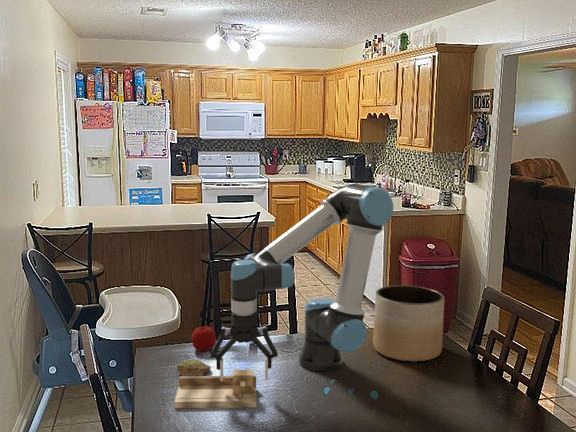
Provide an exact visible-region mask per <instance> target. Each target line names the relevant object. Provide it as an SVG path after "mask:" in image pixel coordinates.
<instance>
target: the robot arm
mask: <svg viewBox="0 0 576 432" xmlns="http://www.w3.org/2000/svg"><path fill="white" fill-rule="evenodd" d="M393 213H394V202H393V199H392V197H391V196H390V194H389V193H388V192H387V190H385V189H383V188H379V187H377V186H371V185H366V184H365V185H364V184H360V183H350V184H346V185H344V186H342V187H340V188H338V189H337V190H335V191H334V192H332V193H331V194H329V195H328V196H327V197H325V198H323V200H321V201H320V206H318V207H317V208H315V209H314V210H313V211H312V212H310V213H309V214H308V215H307V216H305V217H304V218H303V219H301V220H300V221H299V222H297V223H296V224H295V225H293V226H292V227H291V228H289V229H288V230H287V231H286V232H284V233H283V234H281V235H280V236H279V237H278V238H276V239H275V240H274V241H272V242H271V243H270V244H269V245H267V246H266V247H264V248H263V249H262V250H261V251H259V252H258V253H250V254H247V255H246V256H245V257H244V259H239V260H236V261H234V262H233V263H232V264H231V269H230V282H231V283H230V285H231V286H230V288H231V290H230V291H231V294H230V295H231V297H230V298H231V299H230V300H231V301H230V303H231V305H230V306H231V307H230V308H231V312H232V313H231V327H226V326H224V325H222V326H221V330H220V334H219V335H218V338H217V339H216V343H215V345H214V347H213V348H212V349H211V352H210V354H209V355H210V357H209V358H210V359H215V361H216V365H215V366H216V370H217V371H218V370H219V376H220V381H223V376H224V356H225V354H226V353H227V352H228V351H229V350H230V349H231V347H233V345H235V344H236V343H237V342H238V343H240V344H241V343H251V342H252V343H253V344H254V345H255V346H256V347H257V349H259V350H260V351H261V353H262V354H264V356H265V357H264V358H265V359H264V379H265V381H268V380H269V379H268V378H269V369H272V361H273V360H272V359H274V358H277V357H278V351H277V349H276V347H275V344H274V343H273V341H272V339H271V337H270V335H269V333H268V327H267V326H266V325H263V326H261V327H258V326H257V323H258V322H257V304H258V303H257V302H258V301H257V299H258V298H257V296H258V295H257V294H258V292H265V291H273V290H283V289H287V288H291V287H292V286H293V285H294V283H295V271H294V268H293V266H292V265H291V264H290V263H285V262H286V261H287V260H289V259H290V258H291V257H292V256H294V255H295V254H296V253H298V252H299V251H300V250H302V249H303V248H304V247H305V246H307V245H308V244H310V243H311V242H312V241H314V240H315V239H316V238H317V237H318V236H320V235H321V234H322V233H324V232H325V231H327V230H328V229H329V228H330V227H331V226H333V225H334V224H335V225H339V224H340V223H342V222H343V221H346V225H347V227H348V229H349V233H348V238H347V243H346V247H345V253H344V257H343V263H342V266H341V270H340V271H341V272H340V277H339V281H338V286H337V290H336V291H337V292H336V295H335V298H329V297H328V298H326V297H325V298H323V297H321V298H313V299H309V300H308V301H306V303H305V308H304V342H303V344H302V348H301V350H300V352H299V356H298V358H299V359H298V362H299V365H300V366H301V367H302V368H304V369H306V370H310V371H313V372H314V371H315V372H332V371H335V370H338V369H340V368H341V367H342V364H343V356H342V353H348V354H349V353H353V352H355V351H357V350H358V348H361V347H362V346H363V345H364V343H365V342H366V339H367V337H368V327H366V324H365V322H364V316H365V311H364V310H363V308H362V303H363V299H364V294H365V289H366V284H367V279H368V275H369V270H370V265H371V261H372V256H373V251H374V246H375V242H376V237H377V235H378V234H380V233H382V231H383V227H384V225H385V224H387V223H388V221H390V220H391V218H392V216H393ZM258 333H259V334H260V335H262V336H263V339H264V340H265V342H266V344H267V345H268V348H269V349H270V350H269V349H268V348H267V347H266V346H265V345H264V343H262V341H261V340H260V339H259V338H258V337H257V334H258ZM229 334H231V337H230V339H229V340H228V341H227V343H225V344H224V346H223V347H222V348H221V349H220V347H221V345H222V343H223V341H224V340H225V337H226V336H227V335H229ZM219 349H220V350H219Z"/></svg>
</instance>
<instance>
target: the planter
mask: <svg viewBox="0 0 576 432" xmlns="http://www.w3.org/2000/svg"><path fill="white" fill-rule="evenodd" d="M374 299H375V300H374V301H375V303H374V319H373V334H372V347H374V349H375V350H376V351H377V352H378V353H379V354H381V355H383V356H384V357H386V358H388V357H389V358H388V359H391V358H392V359H391V360H394V359H396V361H399V360H400V361H399V362H406V361H411V362H410V363H418V362H417V361H423V362H427V361H426V360H428V361H431V360H433V359H436V358H437V357H439V356H440V355H441V353H442V350H443V349H442V348H443V335H444V334H443V333H444V331H443V330H444V313H445V312H444V311H445V296H444V295H443V294H442V293H441V292H439V291H437V290H435V289H431V288H429V287H425V286H424V287H423V286H416V285H409V284H408V285H406V284H400V285H399V284H398V285H397V284H395V285H387V286H382V287H380V288H378V289H377V290H376V291H375V298H374ZM430 359H431V360H430Z"/></svg>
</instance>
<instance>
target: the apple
mask: <svg viewBox="0 0 576 432" xmlns="http://www.w3.org/2000/svg"><path fill="white" fill-rule="evenodd" d="M216 342H217V336H216V331H215V330H214V329H213V328H212V327H210V326H203V325H202V324H200V326H199V327H197V328H195V330H194V331H193V332H192V334H191V344H192V346H193V347H194V349H195V350H196V351H198V352H200V353H203V352H209V351H212V350H213V348H214V346H215V344H216Z"/></svg>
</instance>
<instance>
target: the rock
mask: <svg viewBox="0 0 576 432" xmlns="http://www.w3.org/2000/svg"><path fill="white" fill-rule="evenodd" d="M211 369H212V367H211V366H210V365H208V364H207V363H204V361H201V360H199V359H192V360H191V359H190V360H189V359H187V360H183V361H181V362H180V363H179V365H177V366H176V370H177V372H178V373H179V374H180V375H181V376H204V374H206V373H207V372H208V371H210V370H211Z"/></svg>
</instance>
